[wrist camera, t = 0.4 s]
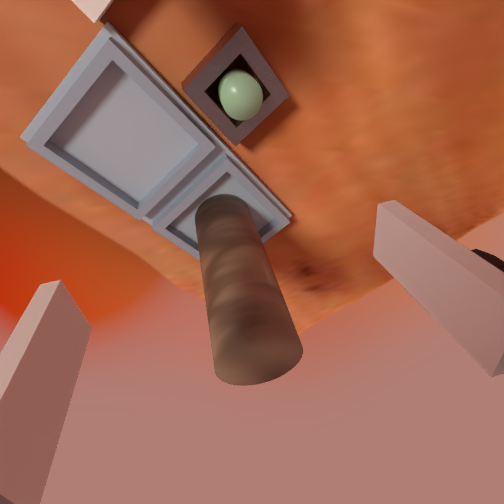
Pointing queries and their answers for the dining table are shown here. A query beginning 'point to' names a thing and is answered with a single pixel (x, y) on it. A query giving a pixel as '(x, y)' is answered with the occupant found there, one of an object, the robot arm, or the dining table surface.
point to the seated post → (242, 296)
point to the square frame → (93, 8)
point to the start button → (240, 94)
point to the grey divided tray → (143, 145)
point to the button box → (216, 64)
